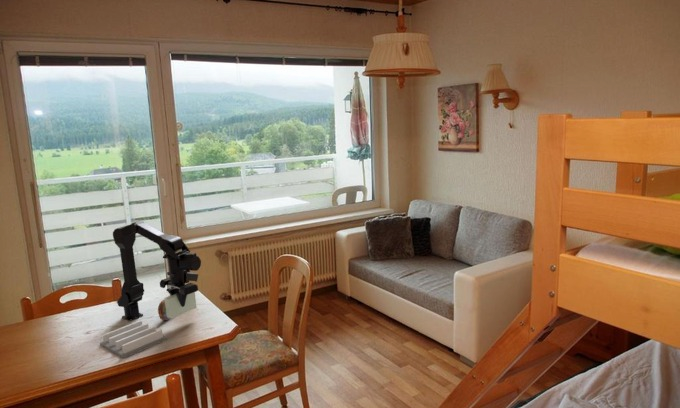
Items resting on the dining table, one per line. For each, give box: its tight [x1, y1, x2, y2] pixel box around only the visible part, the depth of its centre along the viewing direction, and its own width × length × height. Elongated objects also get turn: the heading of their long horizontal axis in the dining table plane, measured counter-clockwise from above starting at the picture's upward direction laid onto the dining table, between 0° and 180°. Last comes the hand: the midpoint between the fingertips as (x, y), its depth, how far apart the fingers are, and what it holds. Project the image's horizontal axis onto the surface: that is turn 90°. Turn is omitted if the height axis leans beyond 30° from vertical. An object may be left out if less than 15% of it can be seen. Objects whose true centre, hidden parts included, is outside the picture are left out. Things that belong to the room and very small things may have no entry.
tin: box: [157, 294, 172, 321], centre depth 201 cm, size 15×3×8 cm, turn 168°
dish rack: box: [99, 320, 168, 359], centre depth 179 cm, size 18×17×4 cm
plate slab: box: [163, 292, 197, 319], centre depth 191 cm, size 2×12×8 cm, turn 141°
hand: (181, 305), depth 192 cm, fingers closed on plate slab, 2 cm apart
